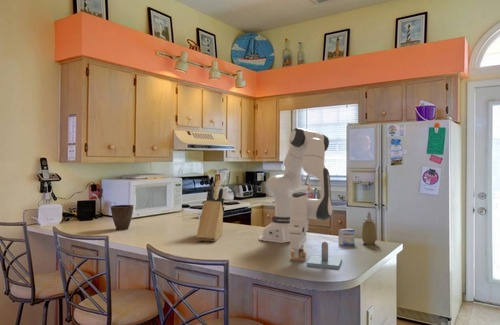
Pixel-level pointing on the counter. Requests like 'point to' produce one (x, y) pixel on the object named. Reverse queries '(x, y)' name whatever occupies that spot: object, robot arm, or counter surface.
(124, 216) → the plant pot
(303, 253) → the copper ring
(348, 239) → the medicine box
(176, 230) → the counter surface
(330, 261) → the post base
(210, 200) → the knife block
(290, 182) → the robot arm
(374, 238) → the squeeze bottle
